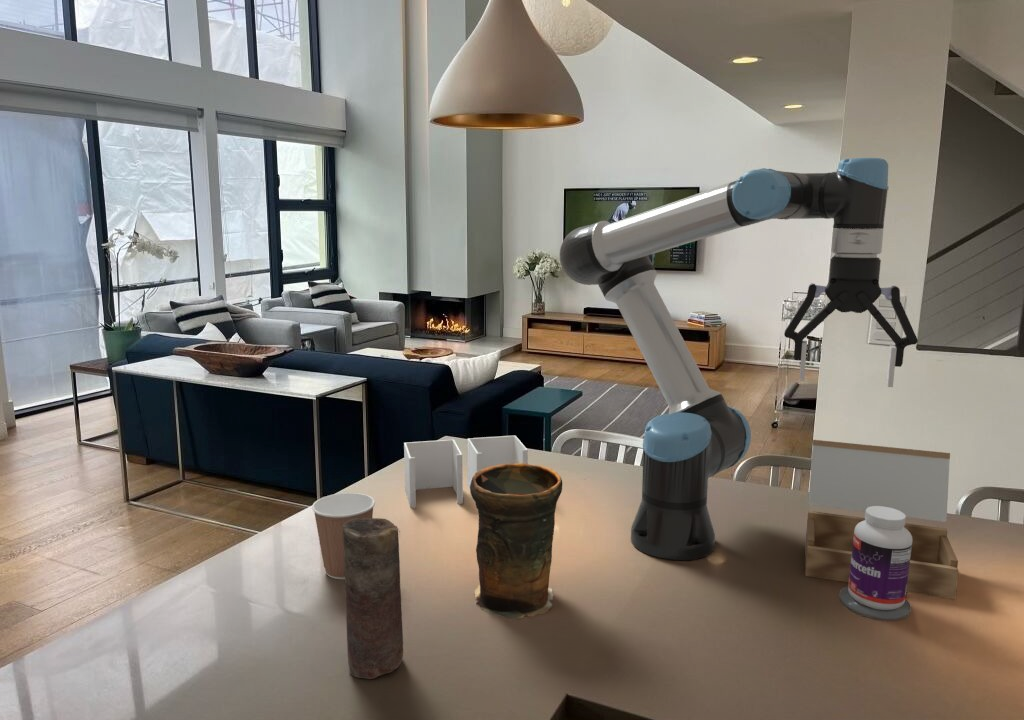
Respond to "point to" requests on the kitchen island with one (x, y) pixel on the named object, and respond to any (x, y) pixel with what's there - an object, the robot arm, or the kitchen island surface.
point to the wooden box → (834, 545)
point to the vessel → (515, 537)
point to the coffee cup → (338, 526)
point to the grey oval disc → (871, 612)
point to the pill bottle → (880, 559)
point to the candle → (372, 596)
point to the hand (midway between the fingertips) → (844, 382)
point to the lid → (880, 479)
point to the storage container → (456, 462)
